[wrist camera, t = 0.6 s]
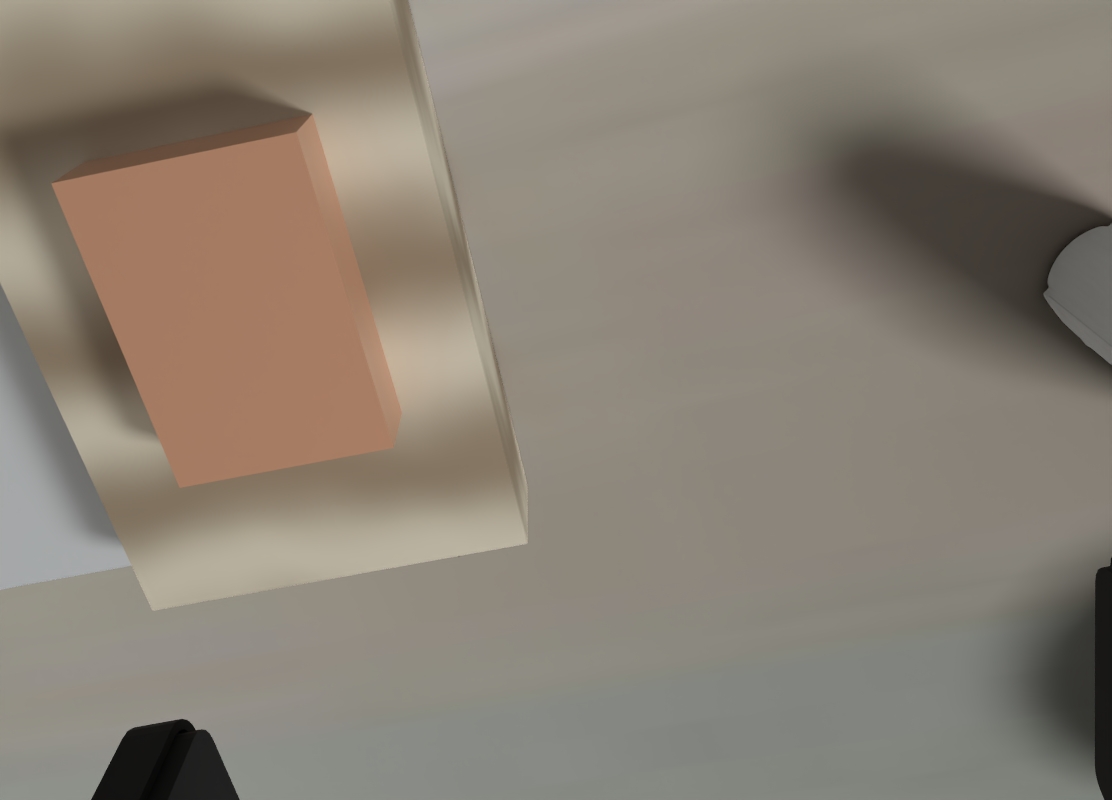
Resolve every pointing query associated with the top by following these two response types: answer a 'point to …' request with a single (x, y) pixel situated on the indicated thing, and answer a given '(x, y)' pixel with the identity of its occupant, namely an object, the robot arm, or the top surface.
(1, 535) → the mat
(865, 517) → the top surface
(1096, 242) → the photo printer
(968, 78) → the top surface
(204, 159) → the tile
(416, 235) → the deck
